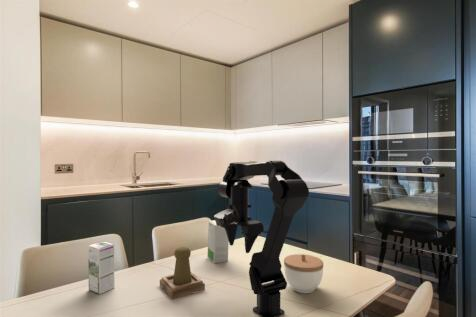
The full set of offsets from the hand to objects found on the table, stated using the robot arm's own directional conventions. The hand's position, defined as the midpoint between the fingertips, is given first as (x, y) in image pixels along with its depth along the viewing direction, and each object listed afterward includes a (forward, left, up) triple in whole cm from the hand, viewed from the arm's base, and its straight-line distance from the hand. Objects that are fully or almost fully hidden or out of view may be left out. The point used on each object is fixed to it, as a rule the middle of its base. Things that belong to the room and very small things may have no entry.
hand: (239, 249), depth 95 cm
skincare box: (+27, -8, -13) cm, 31 cm away
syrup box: (+24, +37, -13) cm, 46 cm away
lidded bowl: (-11, -18, -13) cm, 25 cm away
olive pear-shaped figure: (+11, +15, -11) cm, 22 cm away
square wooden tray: (+11, +15, -13) cm, 23 cm away
